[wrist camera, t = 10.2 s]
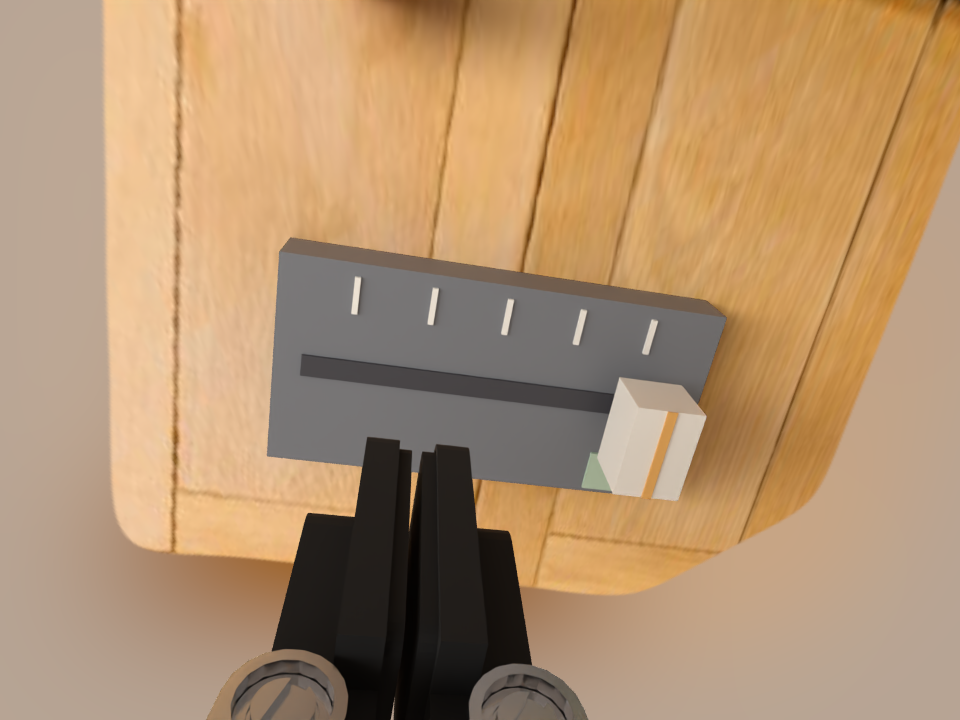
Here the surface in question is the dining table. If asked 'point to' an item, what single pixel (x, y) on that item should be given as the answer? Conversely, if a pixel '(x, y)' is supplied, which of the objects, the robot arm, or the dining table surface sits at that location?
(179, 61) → the dining table surface
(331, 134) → the dining table surface
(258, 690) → the robot arm
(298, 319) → the console
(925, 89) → the dining table surface
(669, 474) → the fader
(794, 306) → the dining table surface
